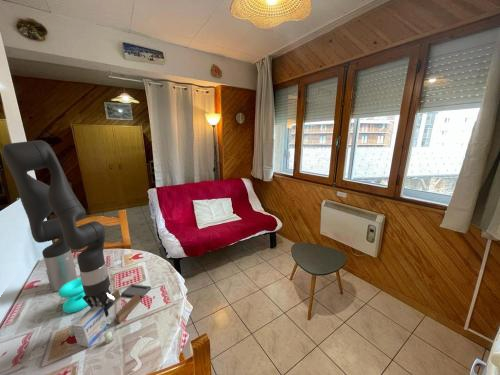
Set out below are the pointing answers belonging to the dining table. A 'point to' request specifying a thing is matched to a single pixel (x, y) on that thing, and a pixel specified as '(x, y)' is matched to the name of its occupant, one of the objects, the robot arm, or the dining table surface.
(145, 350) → the dining table surface
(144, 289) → the pit tray
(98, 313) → the medicine box
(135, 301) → the channel
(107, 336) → the pair of cream knobs
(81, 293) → the turquoise spool
